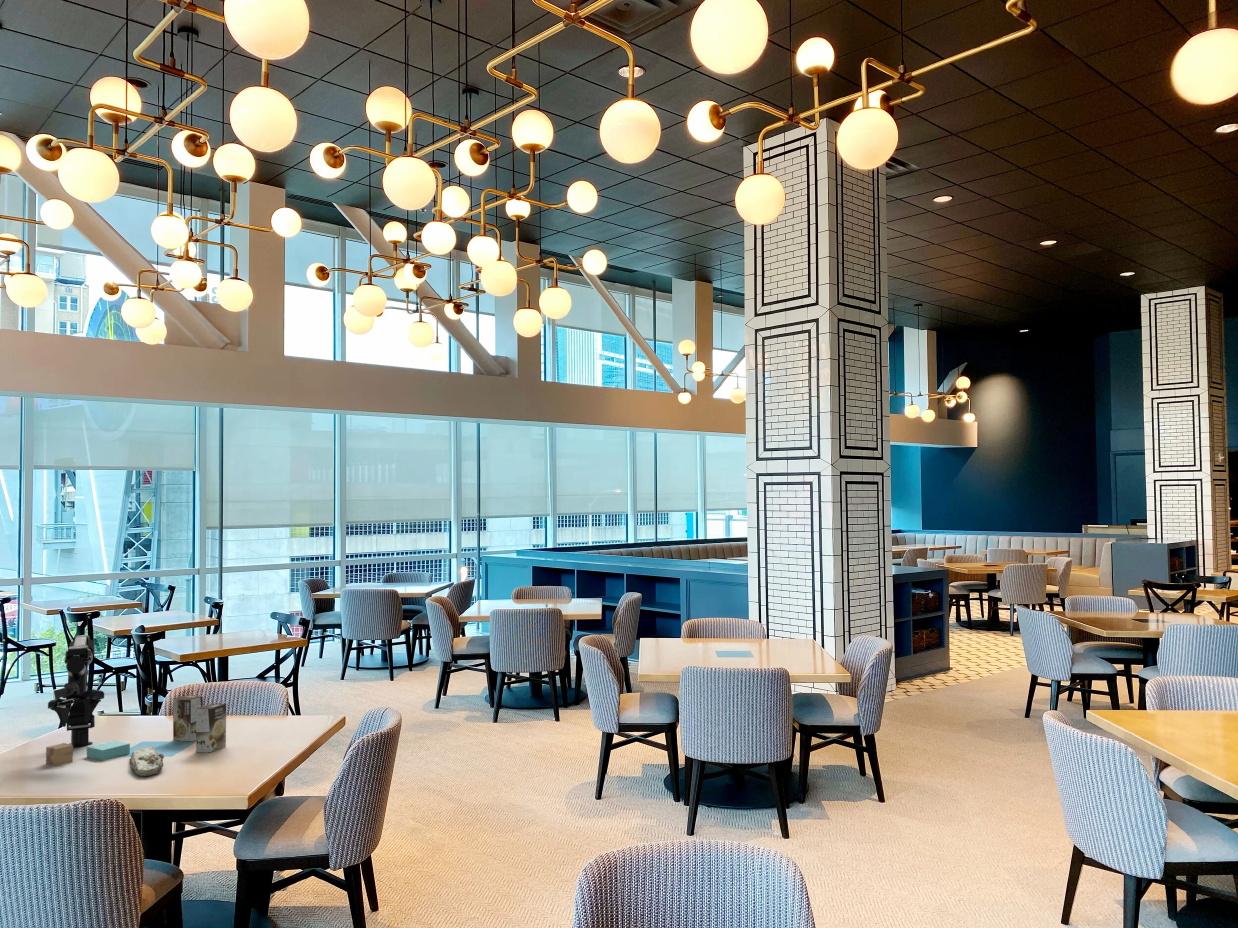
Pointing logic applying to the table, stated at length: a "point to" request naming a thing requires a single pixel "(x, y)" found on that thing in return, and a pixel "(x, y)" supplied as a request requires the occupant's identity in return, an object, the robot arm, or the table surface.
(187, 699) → the coffee box
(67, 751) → the walnut block
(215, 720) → the coffee box
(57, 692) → the robot arm
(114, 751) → the teal plinth
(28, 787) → the table surface
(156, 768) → the long grey stone
